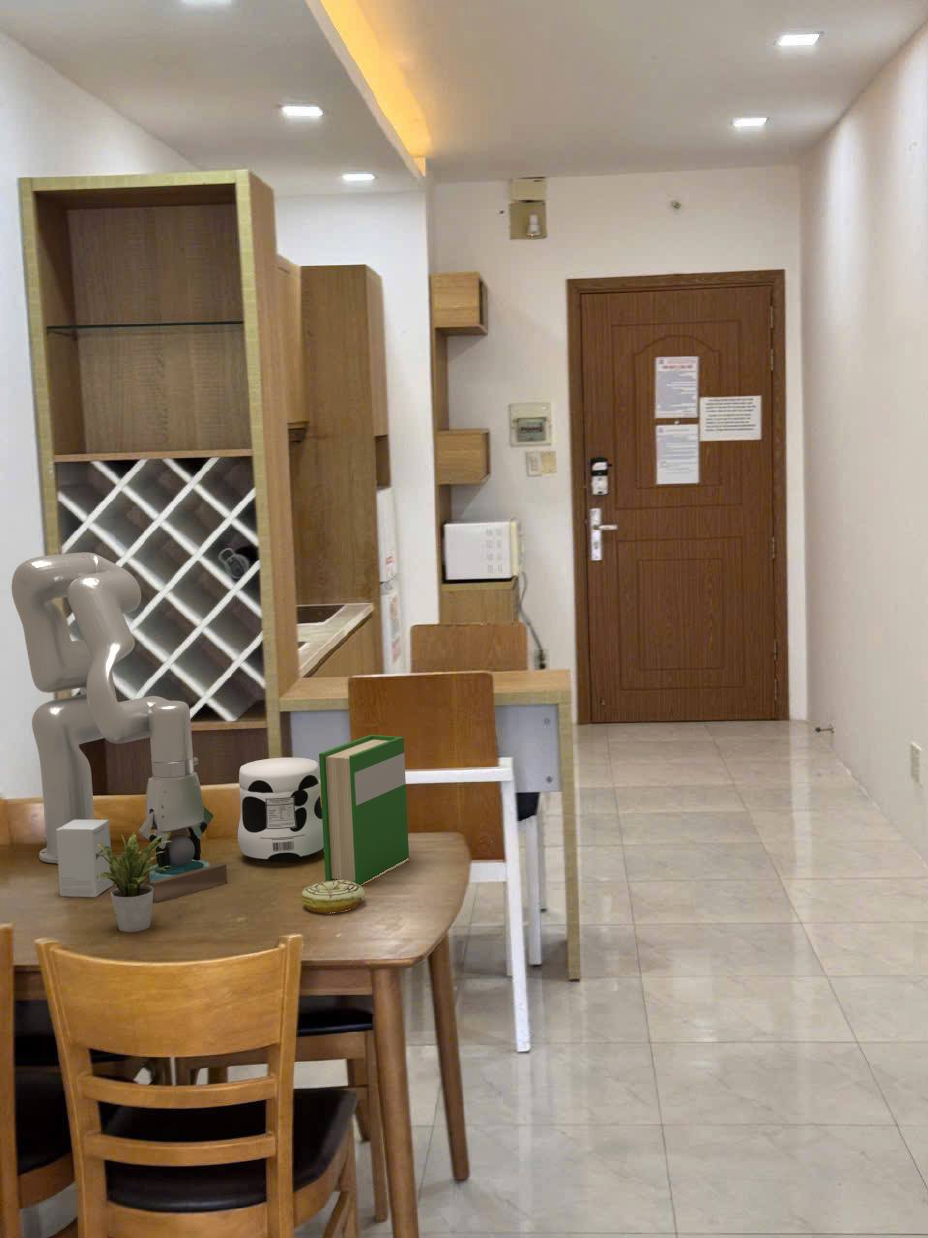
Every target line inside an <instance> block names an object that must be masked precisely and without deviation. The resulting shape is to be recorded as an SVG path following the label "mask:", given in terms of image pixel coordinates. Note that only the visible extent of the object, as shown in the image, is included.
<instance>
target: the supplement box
mask: <svg viewBox="0 0 928 1238" xmlns="http://www.w3.org/2000/svg"><path fill="white" fill-rule="evenodd" d="M110 828H111V827H110V820H109V819H94V820H72V821H71V822H69V823H67V824H65V825H64V826H62V827H60V828H58V829H56V839H57V853H58V863H57V866H58V880H59V883H58V884H59V894H60V897H73V898H97V897H98V896H99V895H100V894H102V893H103V892H104V891H106V890H107V889H109V888H111V887H112V886H114V882H113V881H112V880H110V879H109V878H100V879H98V878H99V877H100V876H101V875H102V874H101V873H103V872H109V873H111V872H110V865H109V862H108V861H106V860H105V859H104V858H103V857H102V856H101V855H103V856H104V857H106V858H107V859H108V860H109V858H108V856H107V855H106V854H105V852H104V851H103V850H102V849H101V847H99V846H98V845H97V844H96V843H100V844H101V845H103V846H104V847H106V848H107V849H109V850H110V851H111V852H112V846H111V832H110V831H111V829H110ZM94 842H96V843H94ZM98 853H99V854H101V855H99V854H98ZM109 861H110V860H109ZM110 862H111V861H110ZM111 874H112V873H111Z"/></svg>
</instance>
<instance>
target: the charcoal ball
mask: <svg viewBox="0 0 928 1238" xmlns="http://www.w3.org/2000/svg"><path fill="white" fill-rule="evenodd" d="M188 837H189V836H186V835H185V834H173V835H171V836H169V837H168V838H167V841H172V842H167V843H166V847H168V849H169V861H170V865H171V866H173V867H183V866H185V865H187V864H189V863H190V862H191V861H192V859H193V857H194V854H195V847H194V844H193V842H192V840H191V839H190V838H188Z"/></svg>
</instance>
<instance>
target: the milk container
mask: <svg viewBox="0 0 928 1238" xmlns="http://www.w3.org/2000/svg"><path fill="white" fill-rule="evenodd" d="M238 773H239V774H238V776H239V777H238V784H239V799H240V800H239V801H240V815H239V821H238V824H237V825H238V826H237V833H236V835H237V842H238V847H239V850H240V852H241V853H242V854H243V856H245V858H247V859H249V860H253V861H254V862H255V861H256V862H261V863H263V862H264V863H278V864H279V863H288V862H289V863H290V862H296V861H300V860H305V859H307V858H311V857H313V856H317V854H319V853H320V852H322V851H323V850H324V842H323V823H322V804H321V785H320V767H319V764H318V762H317V761H315V760H314V759H309V758H305V757H275V758H274V757H273V758H265V759H260V760H254V761H250V762H247V763H245V764H243V765H241V766H240V768H239V772H238Z"/></svg>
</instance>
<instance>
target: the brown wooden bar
mask: <svg viewBox="0 0 928 1238" xmlns="http://www.w3.org/2000/svg"><path fill="white" fill-rule="evenodd" d="M227 872H228V871H227V864H226V863H223V862H220V863H216V864H212V865H209V866H208V867H204V868H201V869H197V870H193V871H189V872H186V873H182V874H178V875H174V876H171V877H167V878H163V879H160V880H156V881H152V882H150V881H149V884H150V885H149V886H151V887H153V888H154V891H153V901H152V903H156V904H157V903H161V902H165V901H168V900H172V899H175V898H178V897H182V896H186V895H189V894H193V893H197V892H200V891H204V890H207V889H210V888H214V887H218V886H222V885H226V884H228V876H227V875H228V873H227Z"/></svg>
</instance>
